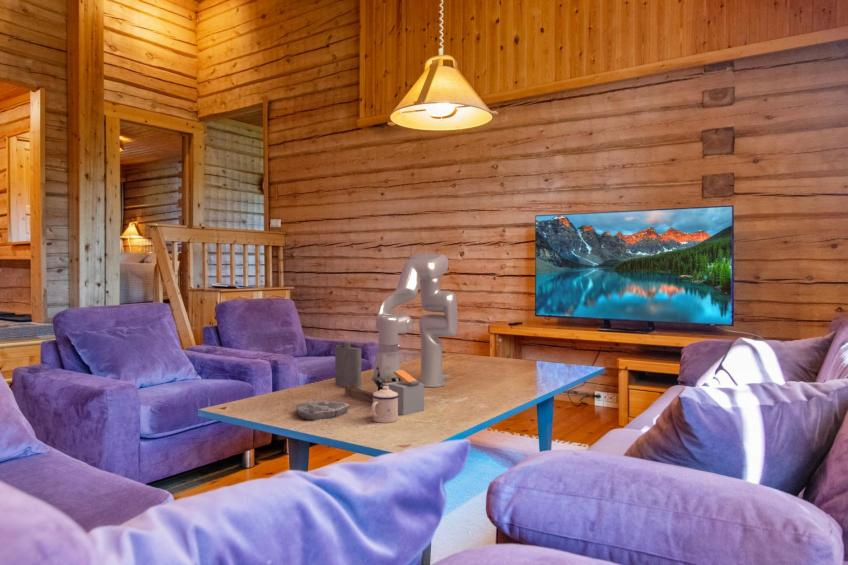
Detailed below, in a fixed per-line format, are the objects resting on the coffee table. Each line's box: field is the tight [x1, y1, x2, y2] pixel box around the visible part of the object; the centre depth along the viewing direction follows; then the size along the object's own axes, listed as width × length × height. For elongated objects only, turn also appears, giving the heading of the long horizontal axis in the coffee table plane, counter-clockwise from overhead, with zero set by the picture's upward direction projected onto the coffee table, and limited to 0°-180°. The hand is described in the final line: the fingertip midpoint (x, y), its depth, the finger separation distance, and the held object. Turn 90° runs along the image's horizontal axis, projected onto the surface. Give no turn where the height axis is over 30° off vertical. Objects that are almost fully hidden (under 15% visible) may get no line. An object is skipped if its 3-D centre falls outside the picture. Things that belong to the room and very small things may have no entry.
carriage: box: [376, 379, 398, 392], centre depth 225 cm, size 6×6×8 cm
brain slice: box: [295, 400, 351, 421], centre depth 212 cm, size 20×17×3 cm
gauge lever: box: [394, 369, 420, 386], centre depth 218 cm, size 4×10×2 cm, turn 44°
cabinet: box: [389, 381, 425, 416], centre depth 218 cm, size 10×8×10 cm
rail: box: [344, 384, 374, 404], centre depth 232 cm, size 5×30×4 cm, turn 44°
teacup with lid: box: [370, 386, 399, 424], centre depth 204 cm, size 12×9×12 cm
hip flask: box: [334, 340, 362, 390], centre depth 259 cm, size 16×4×20 cm, turn 47°
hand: (387, 395), depth 225 cm, fingers closed on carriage, 5 cm apart
